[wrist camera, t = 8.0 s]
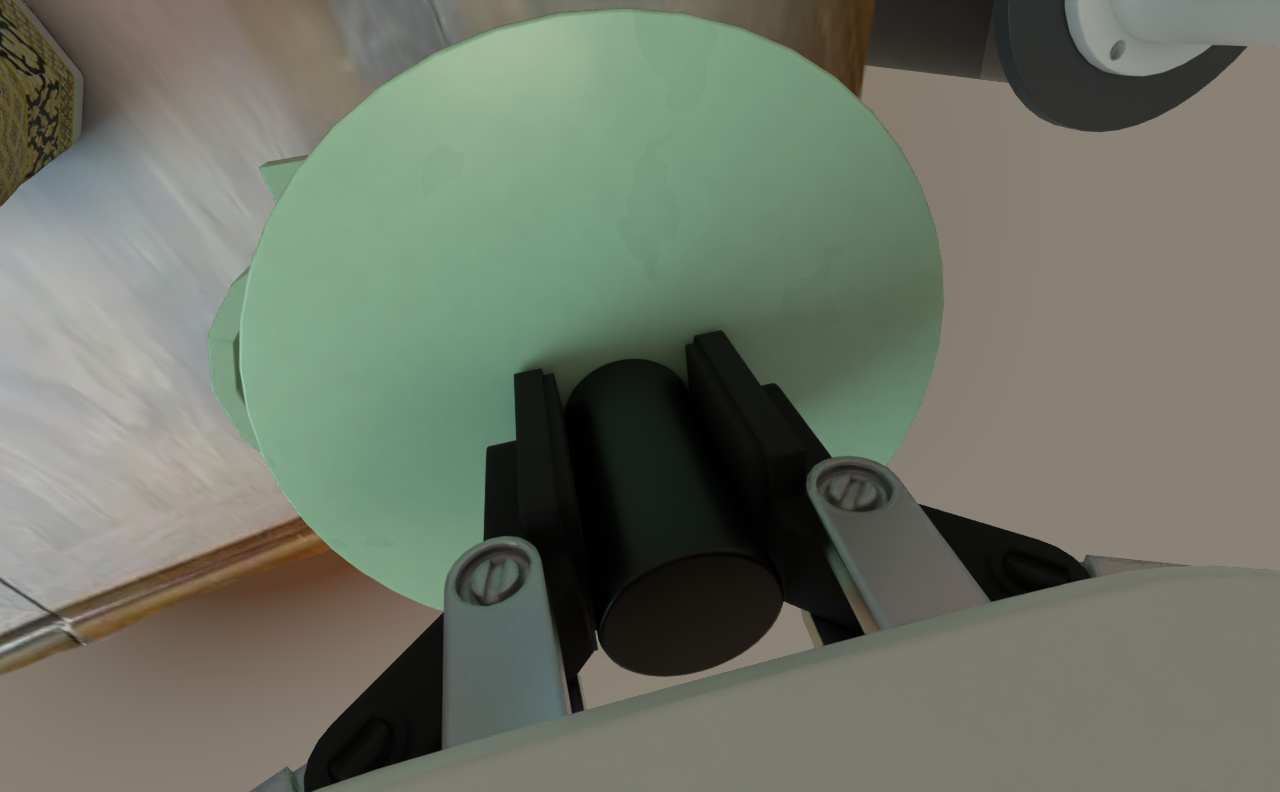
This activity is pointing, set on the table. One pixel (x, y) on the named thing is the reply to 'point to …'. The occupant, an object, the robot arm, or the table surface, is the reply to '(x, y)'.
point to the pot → (227, 320)
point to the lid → (587, 304)
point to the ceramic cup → (33, 97)
